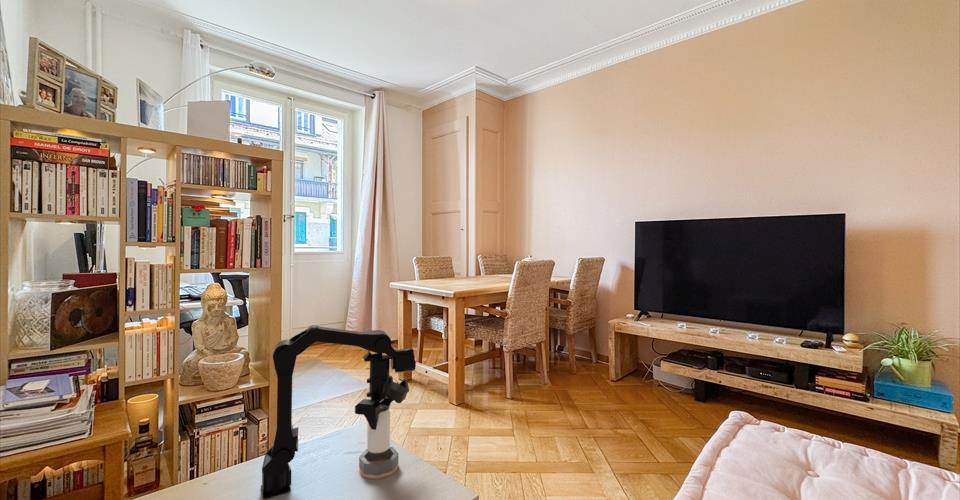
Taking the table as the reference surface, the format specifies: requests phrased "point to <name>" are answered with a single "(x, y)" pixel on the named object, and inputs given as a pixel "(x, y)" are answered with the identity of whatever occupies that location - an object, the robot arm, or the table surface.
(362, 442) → the table surface
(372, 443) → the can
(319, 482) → the table surface
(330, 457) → the table surface
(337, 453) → the table surface
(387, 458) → the socket
